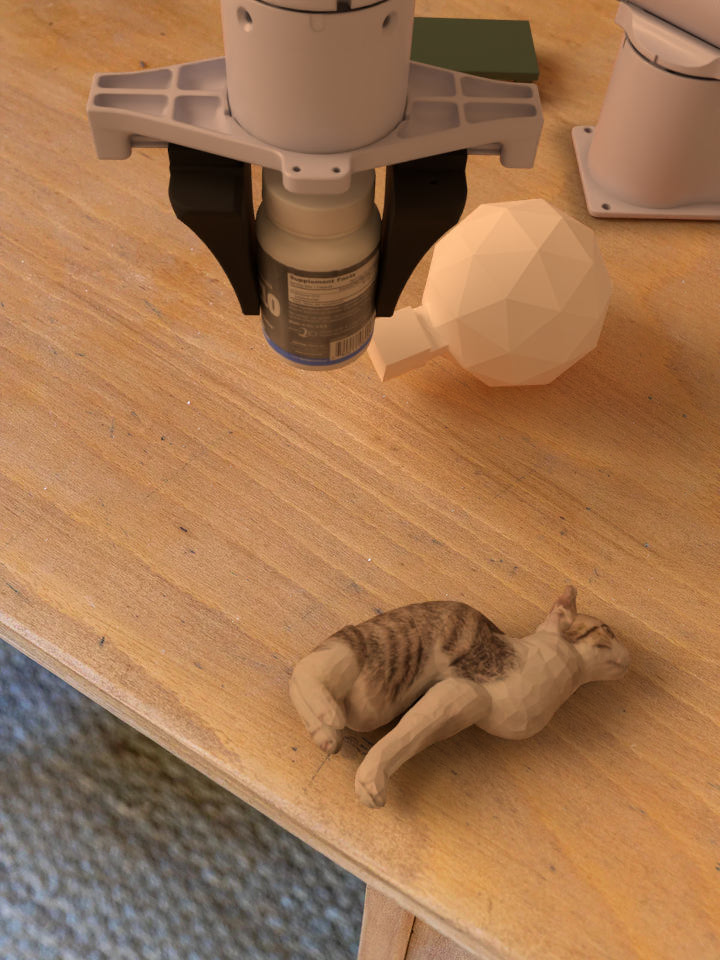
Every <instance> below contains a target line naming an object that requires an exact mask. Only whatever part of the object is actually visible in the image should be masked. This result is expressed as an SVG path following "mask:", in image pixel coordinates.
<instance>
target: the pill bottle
mask: <svg viewBox="0 0 720 960" xmlns="http://www.w3.org/2000/svg"><path fill="white" fill-rule="evenodd" d="M376 179H377V172H376V168H374V169H370V170H365V171H361V172H356V173H353V174H352V175H351V186H350V188H349V190H348V191H346V192H345V193H343V194H339V195H305V194H295V193H291V192H289V191H288V190H286V189H285V188H284V185H283V175H282V172H280V171H277V170H273V169H269V168H265V167H262V168H261V201H260V204H259V206H258V208H257V211H256V214H255V241H256V254H257V264H258V278H259V291H260V317H261V329H262V335H263V339H264V342H265V344H266V347H267V348H268V349H269V350H270V352H271V353H272V354H273V355H274V356H275V357H276V358H277V359H278V360H280V361H281V362H283V363H284V364H286V365H288V366H289V367H293V368H295V369H299V370H303V371H308V372H328V371H329V372H330V371H334V370H340V369H343V368H345V367H347V366H349V365H350V364H352V363H354V362H355V361H357V360H358V359H360V358H361V357H362V356H363V355H364V354H365V352H367V348H368V346H369V344H370V342H371V340H372V336H373V332H374V323H375V319H377V317H376V310H375V305H376V292H377V283H378V273H379V265H380V264H379V262H380V253H381V241H382V215H381V212H380V210H379V207H378V205H377V203H376V202H375V198H376V184H377V183H376Z"/></svg>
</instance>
